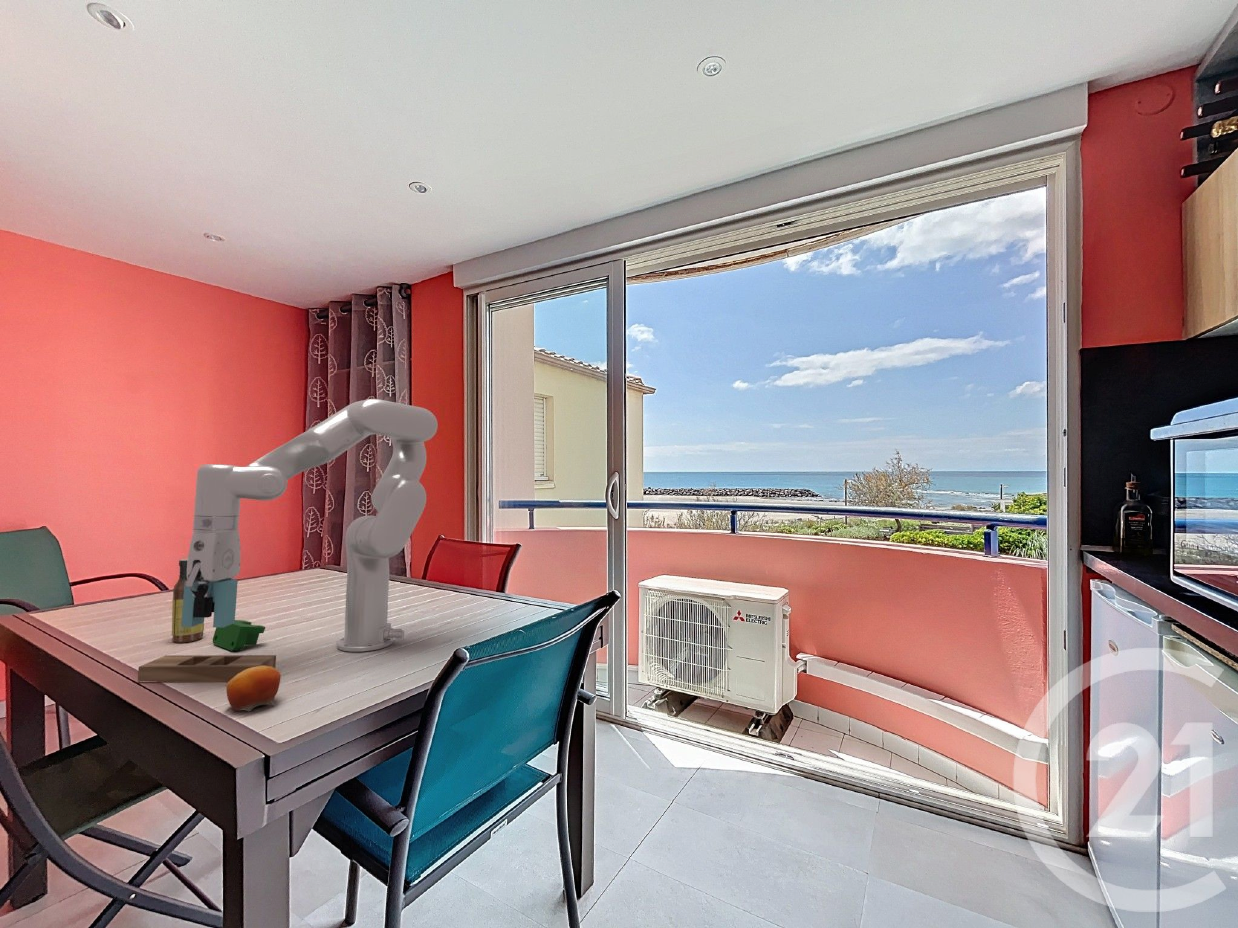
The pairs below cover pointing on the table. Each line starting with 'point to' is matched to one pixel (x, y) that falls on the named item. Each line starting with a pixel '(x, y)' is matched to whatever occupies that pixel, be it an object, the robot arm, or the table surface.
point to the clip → (223, 608)
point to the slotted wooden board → (201, 667)
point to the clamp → (237, 635)
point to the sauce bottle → (180, 632)
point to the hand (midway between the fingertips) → (209, 613)
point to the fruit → (253, 687)
